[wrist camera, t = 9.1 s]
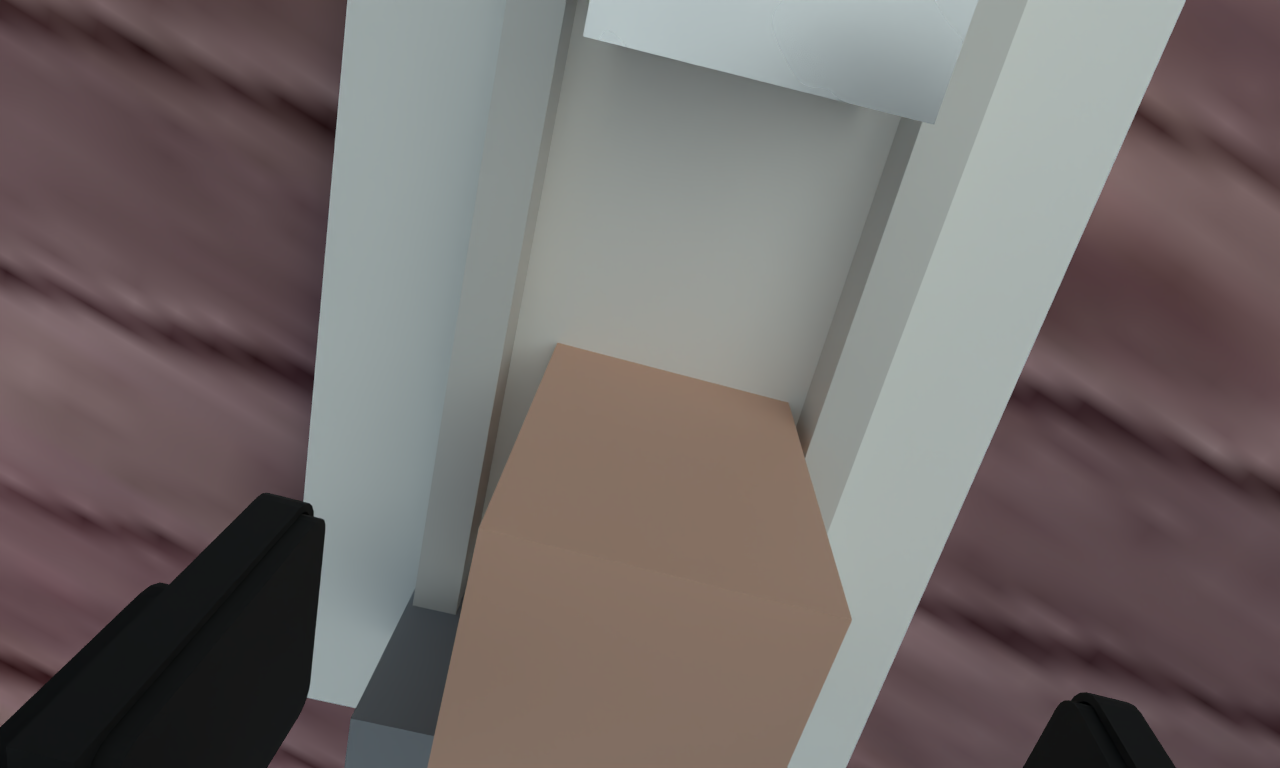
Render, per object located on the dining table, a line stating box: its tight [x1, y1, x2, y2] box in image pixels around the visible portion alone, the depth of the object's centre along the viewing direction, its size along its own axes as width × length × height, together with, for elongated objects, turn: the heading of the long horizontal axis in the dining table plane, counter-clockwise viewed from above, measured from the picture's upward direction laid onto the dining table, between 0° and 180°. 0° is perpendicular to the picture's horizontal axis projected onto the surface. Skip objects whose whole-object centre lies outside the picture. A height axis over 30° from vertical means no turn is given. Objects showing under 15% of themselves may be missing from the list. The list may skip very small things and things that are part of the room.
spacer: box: [427, 343, 852, 768], centre depth 13 cm, size 4×4×6 cm
